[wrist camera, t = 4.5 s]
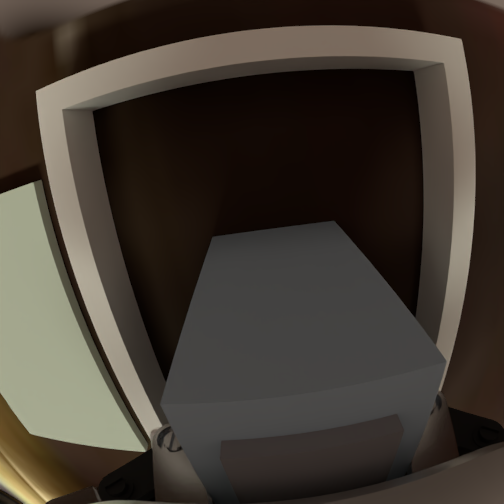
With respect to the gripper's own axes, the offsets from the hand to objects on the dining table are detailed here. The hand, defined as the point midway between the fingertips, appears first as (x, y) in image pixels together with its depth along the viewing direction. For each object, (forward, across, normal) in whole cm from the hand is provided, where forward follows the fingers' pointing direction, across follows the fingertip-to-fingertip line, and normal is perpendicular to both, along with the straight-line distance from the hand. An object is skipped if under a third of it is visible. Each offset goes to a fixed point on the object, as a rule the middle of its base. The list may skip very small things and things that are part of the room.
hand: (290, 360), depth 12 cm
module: (+2, 0, 0) cm, 2 cm away
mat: (+2, +14, 0) cm, 14 cm away
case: (+2, 0, +2) cm, 3 cm away
